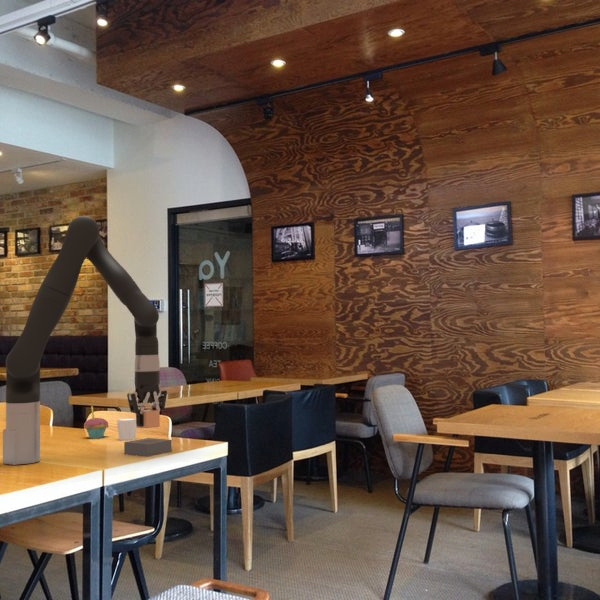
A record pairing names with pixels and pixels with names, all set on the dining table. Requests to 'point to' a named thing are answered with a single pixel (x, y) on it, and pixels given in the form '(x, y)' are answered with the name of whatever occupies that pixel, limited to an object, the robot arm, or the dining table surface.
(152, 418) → the terracotta cube
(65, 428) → the dining table surface
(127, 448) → the charcoal block
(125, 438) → the light grey piece
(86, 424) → the cupcake
